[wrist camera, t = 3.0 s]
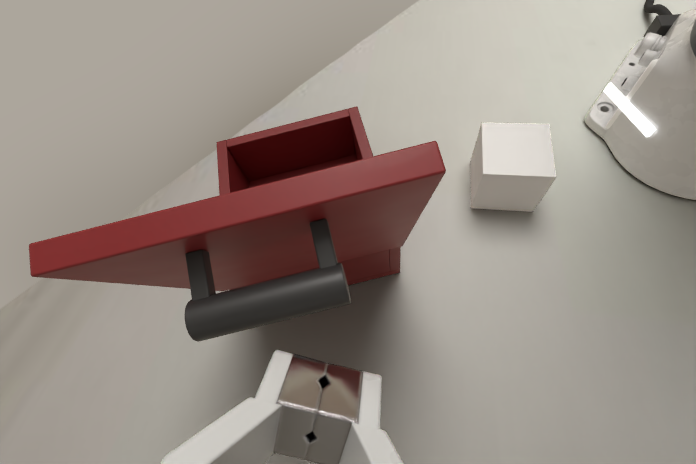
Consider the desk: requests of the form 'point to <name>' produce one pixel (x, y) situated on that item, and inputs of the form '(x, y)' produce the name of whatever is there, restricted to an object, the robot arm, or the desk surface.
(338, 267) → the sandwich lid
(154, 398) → the desk surface
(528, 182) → the white cube
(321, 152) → the red open box
